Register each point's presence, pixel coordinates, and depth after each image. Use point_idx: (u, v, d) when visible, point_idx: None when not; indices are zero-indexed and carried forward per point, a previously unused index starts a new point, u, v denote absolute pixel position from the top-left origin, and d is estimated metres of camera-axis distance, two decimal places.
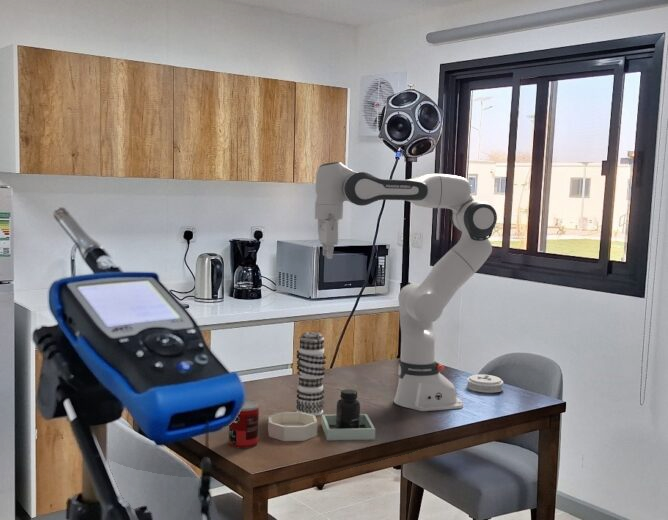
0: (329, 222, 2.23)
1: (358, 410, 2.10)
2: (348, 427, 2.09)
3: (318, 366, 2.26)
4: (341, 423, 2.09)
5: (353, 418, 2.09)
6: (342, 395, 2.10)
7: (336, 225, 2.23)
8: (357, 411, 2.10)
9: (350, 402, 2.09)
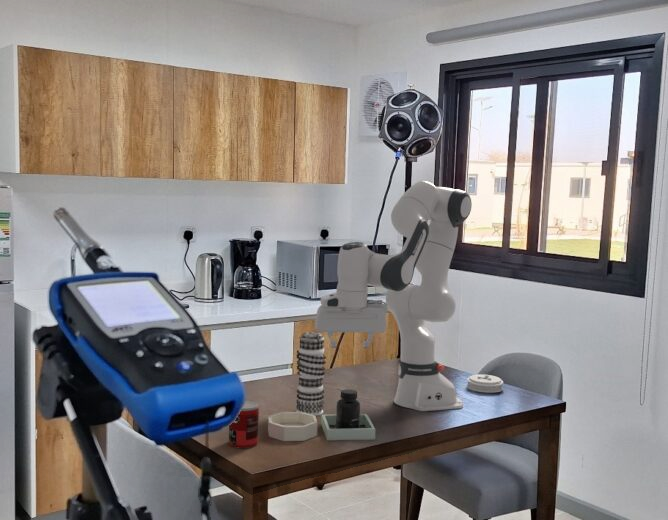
0: (382, 308, 2.09)
1: (358, 410, 2.10)
2: (348, 427, 2.09)
3: (318, 366, 2.26)
4: (341, 423, 2.09)
5: (353, 418, 2.09)
6: (342, 395, 2.10)
7: None
8: (357, 411, 2.10)
9: (350, 402, 2.09)
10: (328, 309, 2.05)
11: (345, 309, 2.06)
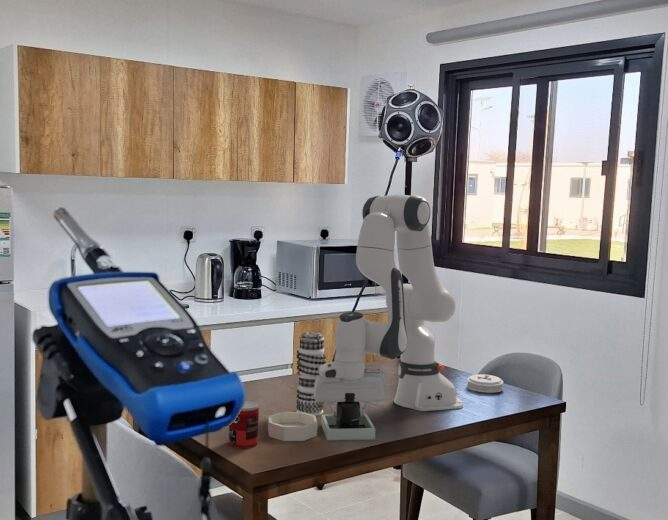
0: (380, 377, 2.11)
1: (358, 410, 2.10)
2: (348, 427, 2.09)
3: (318, 366, 2.26)
4: (341, 423, 2.09)
5: (353, 418, 2.09)
6: None
7: None
8: (357, 411, 2.10)
9: (350, 402, 2.09)
10: (326, 380, 2.07)
11: (343, 379, 2.08)
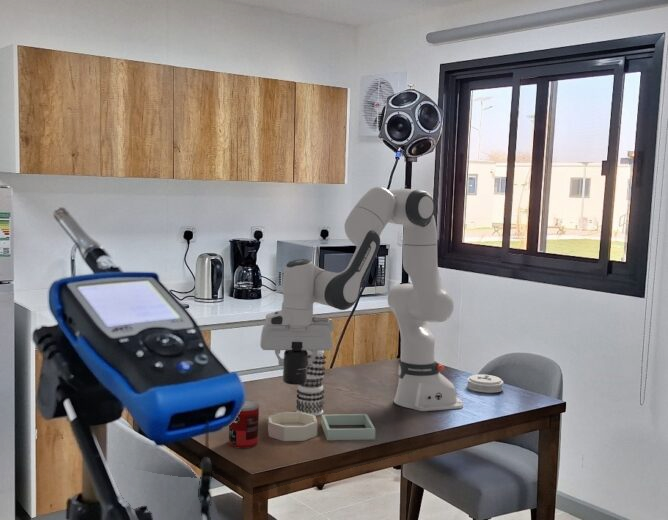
0: (328, 326, 2.07)
1: (305, 359, 2.06)
2: (294, 376, 2.05)
3: (318, 366, 2.26)
4: (288, 373, 2.05)
5: (300, 367, 2.05)
6: None
7: None
8: (304, 360, 2.06)
9: (297, 351, 2.05)
10: (273, 327, 2.03)
11: (290, 327, 2.04)
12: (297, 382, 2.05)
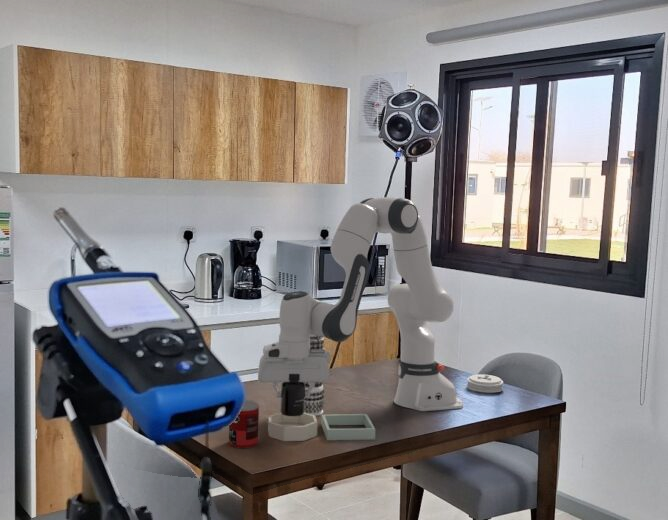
0: (325, 358, 2.08)
1: (303, 391, 2.07)
2: (292, 408, 2.06)
3: None
4: (285, 405, 2.06)
5: (297, 399, 2.06)
6: None
7: None
8: (301, 392, 2.07)
9: (294, 383, 2.06)
10: (270, 359, 2.04)
11: (287, 359, 2.05)
12: (294, 414, 2.06)
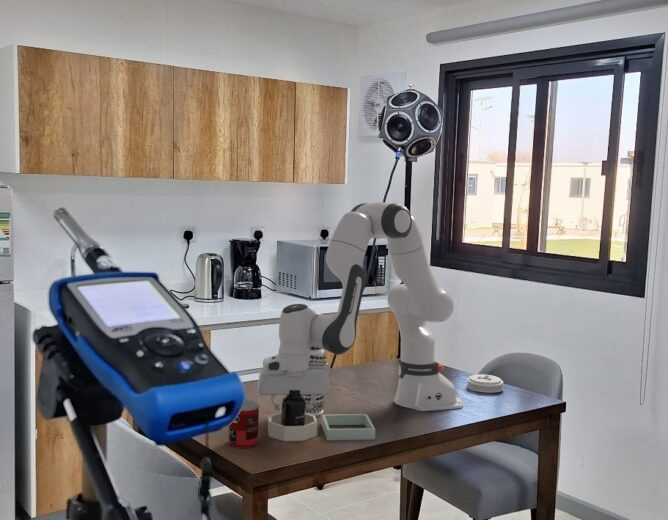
0: (325, 370, 2.09)
1: (303, 407, 2.08)
2: (292, 425, 2.06)
3: None
4: (286, 421, 2.07)
5: (298, 415, 2.07)
6: None
7: None
8: (302, 408, 2.07)
9: (295, 399, 2.07)
10: (270, 372, 2.05)
11: (287, 372, 2.06)
12: None
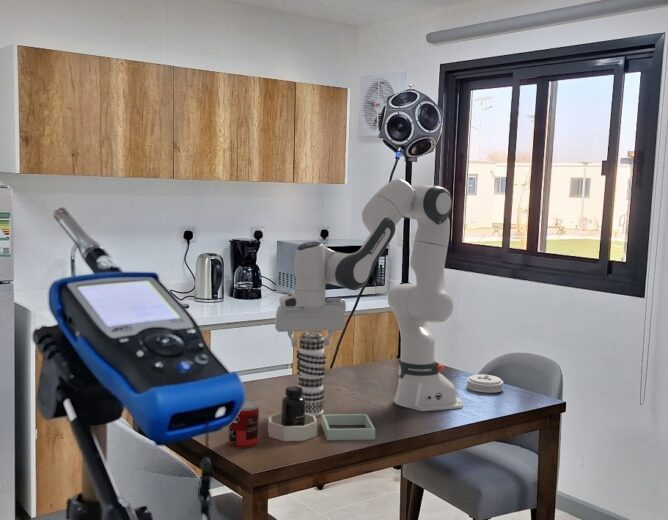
0: (341, 306, 2.12)
1: (303, 407, 2.08)
2: (292, 425, 2.06)
3: (318, 366, 2.26)
4: (285, 421, 2.07)
5: (298, 415, 2.07)
6: (287, 392, 2.08)
7: None
8: (302, 408, 2.07)
9: (295, 399, 2.07)
10: (287, 309, 2.08)
11: (303, 308, 2.09)
12: None
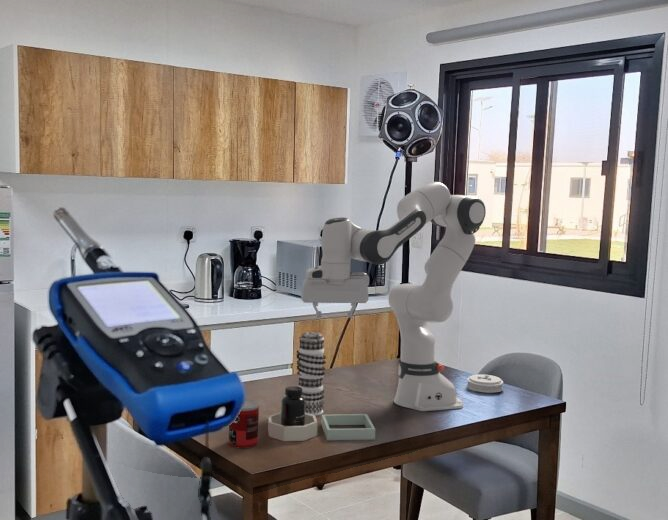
0: (365, 280, 2.21)
1: (303, 407, 2.08)
2: (292, 425, 2.06)
3: (318, 366, 2.26)
4: (285, 421, 2.07)
5: (298, 415, 2.07)
6: (286, 392, 2.08)
7: None
8: (302, 408, 2.07)
9: (294, 399, 2.07)
10: (313, 280, 2.17)
11: (329, 281, 2.18)
12: None
